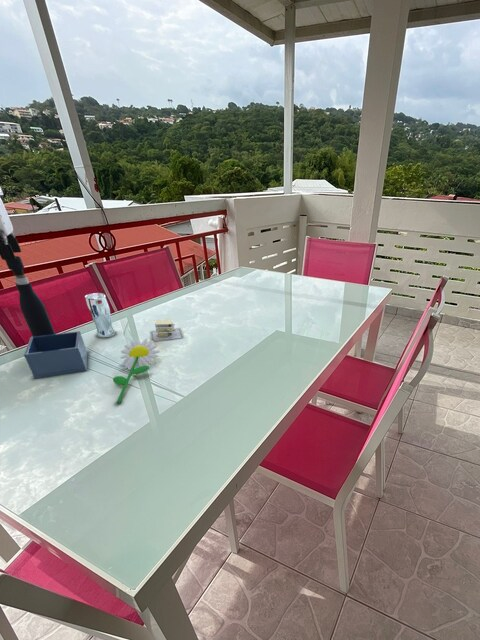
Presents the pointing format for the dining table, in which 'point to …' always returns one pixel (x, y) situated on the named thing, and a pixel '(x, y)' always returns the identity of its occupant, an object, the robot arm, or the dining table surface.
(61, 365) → the blue grey open box
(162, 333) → the stacked layers on plate
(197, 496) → the dining table surface
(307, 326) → the dining table surface
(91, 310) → the beer glass
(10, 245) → the robot arm
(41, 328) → the wine bottle
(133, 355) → the decorative flower
